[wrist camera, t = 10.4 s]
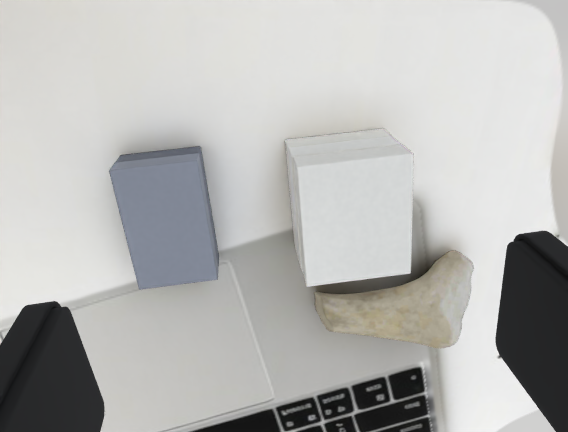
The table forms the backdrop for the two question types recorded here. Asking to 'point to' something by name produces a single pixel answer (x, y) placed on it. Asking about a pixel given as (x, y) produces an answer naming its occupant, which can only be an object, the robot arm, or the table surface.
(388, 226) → the white book
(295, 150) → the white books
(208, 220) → the grey-blue block
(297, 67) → the table surface
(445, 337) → the stone
